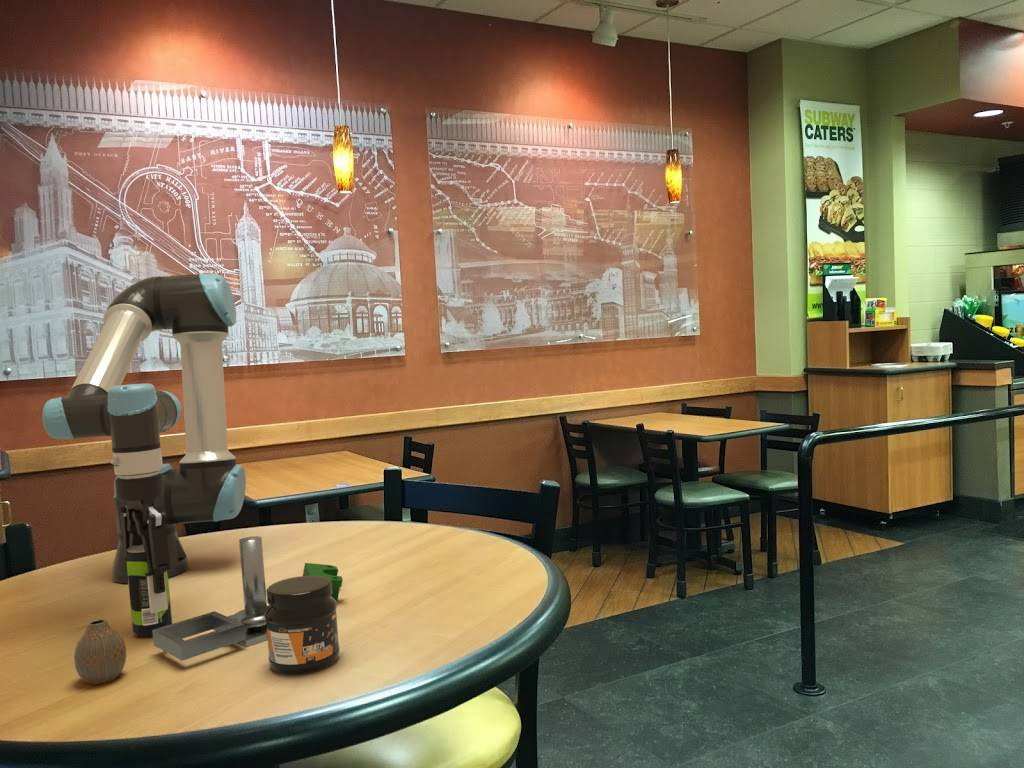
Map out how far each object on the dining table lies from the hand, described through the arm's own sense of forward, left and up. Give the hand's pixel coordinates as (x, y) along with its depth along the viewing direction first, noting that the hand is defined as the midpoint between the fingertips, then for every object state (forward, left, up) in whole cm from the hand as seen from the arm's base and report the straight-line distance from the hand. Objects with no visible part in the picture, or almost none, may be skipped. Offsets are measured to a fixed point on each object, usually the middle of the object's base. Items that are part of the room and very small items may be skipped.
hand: (150, 606), depth 140 cm
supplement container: (+34, +9, -5) cm, 35 cm away
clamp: (+10, +28, -5) cm, 30 cm away
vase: (+14, -13, -5) cm, 20 cm away
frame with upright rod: (+16, +6, -4) cm, 18 cm away
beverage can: (0, 0, -5) cm, 5 cm away
